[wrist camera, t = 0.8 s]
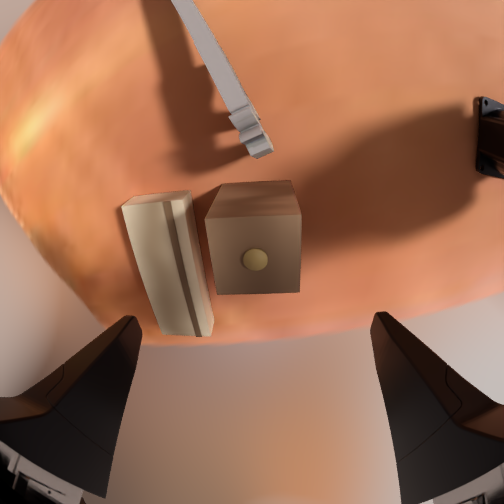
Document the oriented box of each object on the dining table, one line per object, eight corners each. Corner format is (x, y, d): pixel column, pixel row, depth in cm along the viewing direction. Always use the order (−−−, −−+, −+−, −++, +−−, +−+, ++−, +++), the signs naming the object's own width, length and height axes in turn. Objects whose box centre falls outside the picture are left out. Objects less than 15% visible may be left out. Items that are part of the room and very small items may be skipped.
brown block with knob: (290, 180, 18) (302, 216, 12) (291, 240, 20) (299, 294, 14) (222, 183, 18) (203, 220, 12) (229, 242, 20) (216, 297, 15)
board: (190, 190, 18) (182, 200, 16) (214, 320, 24) (210, 337, 22) (133, 196, 18) (120, 206, 17) (168, 319, 24) (162, 335, 23)
